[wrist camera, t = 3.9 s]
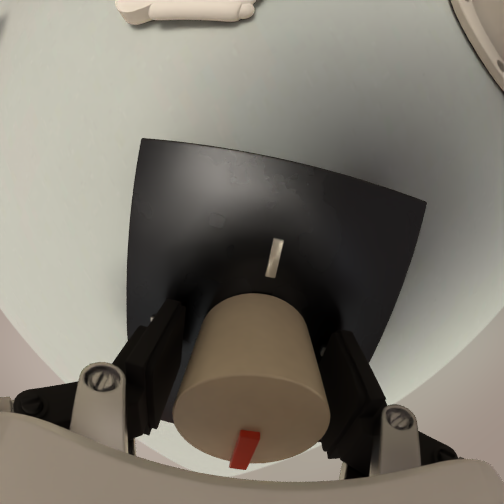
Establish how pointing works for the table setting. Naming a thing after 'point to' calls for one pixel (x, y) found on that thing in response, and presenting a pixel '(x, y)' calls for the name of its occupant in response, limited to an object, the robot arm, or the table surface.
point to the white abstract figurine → (184, 10)
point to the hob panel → (264, 242)
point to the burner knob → (252, 384)
